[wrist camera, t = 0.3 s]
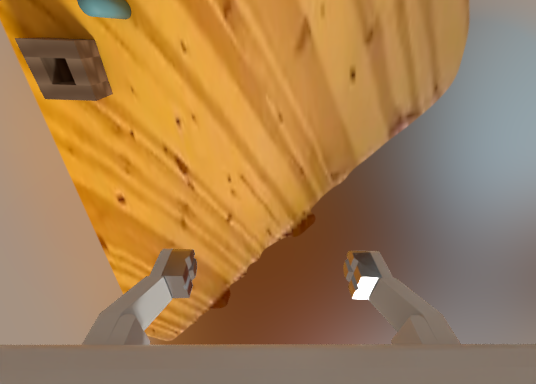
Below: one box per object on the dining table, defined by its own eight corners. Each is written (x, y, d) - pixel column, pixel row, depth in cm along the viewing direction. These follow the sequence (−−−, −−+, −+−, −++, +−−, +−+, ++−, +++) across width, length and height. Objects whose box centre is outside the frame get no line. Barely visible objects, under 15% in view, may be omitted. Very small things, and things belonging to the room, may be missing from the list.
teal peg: (111, -2, 41) (73, -11, 33) (128, -2, 41) (94, -10, 33) (117, 18, 43) (82, 15, 35) (133, 19, 43) (102, 16, 35)
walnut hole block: (42, 37, 45) (14, 38, 40) (94, 39, 45) (73, 40, 40) (66, 92, 50) (45, 98, 45) (112, 93, 51) (96, 100, 46)
